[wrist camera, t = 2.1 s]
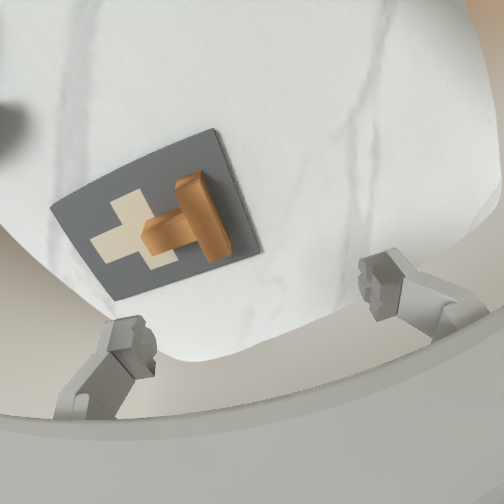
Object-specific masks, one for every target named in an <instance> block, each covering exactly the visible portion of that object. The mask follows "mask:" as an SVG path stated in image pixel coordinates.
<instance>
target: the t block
mask: <svg viewBox="0 0 504 504" xmlns="http://www.w3.org/2000/svg"><path fill="white" fill-rule="evenodd" d="M174 194H175V196H176V198H177V201H178V203H179V205H180V207H179V208H176V209H173V210H171V211H168V212H166V213H163V214H161V215H158V216H156V217H153V218H151V219H148V220H146V222H145V225H144V228H143V231H142V234H141V239H142V241H143V242H144V244H145V246H146V247H147V249H148V251H149V252H150V254H151V256H152V257H153V256H155V255H158V254H161V253H164V252H166V251H169V250H172V249H175V248H177V247H180V246H183V245H186V244H189V243H191V242H194V241H198V243H199V245H200V247H201V249H202V251H203V253H204V255H205V257H206V259H207V261H208V262H209V263H210V262H213V261H216V260H219V259H222V258H225V257H228V256H231V255H232V252H231V244H230V237H229V234H228V232H227V230H226V228H225V225H224V223H223V221H222V218H221V216H220V214H219V211H218V209H217V207H216V204H215V202H214V200H213V197H212V195H211V193H210V190H209V188H208V186H207V183H206V181H205V179H204V176H203V174H202V171H201V170H199V171H196V172H194V173H191V174H189V175H186V176H184V177H181V178H179V179H177V182H176V185H175V189H174Z"/></svg>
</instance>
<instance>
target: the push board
mask: <svg viewBox="0 0 504 504" xmlns="http://www.w3.org/2000/svg"><path fill="white" fill-rule="evenodd" d="M199 170H201V171H202V174H203V176H204V179H205V181H206V183H207V186H208V188H209V190H210V193H211V195H212V197H213V200H214V202H215V204H216V207H217V209H218V211H219V214H220V216H221V218H222V221H223V223H224V225H225V228H226V230H227V232H228V234H229V237H230V244H231V252H232V255H231V256H228V257H225V258H222V259H219V260H216V261H213V262H210V263H209V262H208V261H207V259H206V257H205V255H204V253H203V251H202V249H201V247H200V245H199V243H198V241H194V242H191V243H189V244H186V245H183V246H180V247H177V248H175V249H172V250H169V251H166V252H164V253H161V254H158V255H155V256H153V257H152V256H151V254H150V252H149V251H148V249H147V247H146V246H145V244H144V242H143V241H142V239H141V234H142V231H143V228H144V225H145V222H146V220H148V219H151V218H153V217H156V216H158V215H161V214H163V213H166V212H168V211H171V210H173V209H176V208H179V207H180V205H179V203H178V201H177V198H176V196H175V194H174V189H175V185H176V182H177V179H179V178H181V177H184V176H186V175H189V174H191V173H194V172H196V171H199ZM50 209H51V211H52V213H53V214H54V216H55V217H56V219H57V221H58V222H59V224H60V225H61V227H62V229H63V230H64V232H65V233H66V235H67V236H68V238H69V239H70V241H71V242H72V244H73V245H74V247H75V248H76V250H77V251H78V253H79V254H80V256H81V257H82V258H83V260H84V261H85V263H86V264H87V265H88V267H89V268H90V270H91V271H92V272H93V274H94V275H95V276H96V278H97V279H98V280H99V282H100V283H101V284H102V286H103V287H104V288H105V290H106V291H107V292H108V294H109V295H110V296H111V297H112V299H113V300H114V301H118V300H121V299H124V298H127V297H130V296H133V295H136V294H139V293H142V292H145V291H148V290H151V289H154V288H157V287H160V286H163V285H166V284H169V283H172V282H176V281H179V280H182V279H185V278H188V277H191V276H194V275H197V274H200V273H203V272H206V271H209V270H212V269H215V268H218V267H221V266H224V265H227V264H230V263H233V262H236V261H239V260H242V259H245V258H248V257H251V256H254V255H257V254H260V250H259V247H258V244H257V242H256V239H255V236H254V234H253V231H252V229H251V226H250V223H249V221H248V218H247V215H246V213H245V210H244V207H243V205H242V202H241V200H240V197H239V194H238V192H237V189H236V186H235V184H234V181H233V179H232V176H231V173H230V171H229V168H228V165H227V163H226V160H225V158H224V155H223V152H222V150H221V147H220V145H219V142H218V139H217V137H216V134H215V132H214V129H213V128H212V129H209V130H206V131H204V132H201V133H199V134H196V135H193V136H191V137H188V138H186V139H183V140H181V141H178V142H176V143H174V144H171V145H169V146H166V147H164V148H162V149H159V150H157V151H155V152H153V153H150V154H148V155H146V156H144V157H142V158H139V159H137V160H135V161H133V162H131V163H129V164H127V165H125V166H123V167H121V168H119V169H117V170H115V171H113V172H111V173H109V174H107V175H105V176H103V177H101V178H99V179H97V180H95V181H93V182H91V183H89V184H88V185H86V186H84V187H82V188H80V189H79V190H77V191H75V192H73V193H71V194H70V195H68V196H66V197H64V198H63V199H61V200H59V201H58V202H56V203H54V204H53V205H52V206H51V207H50Z"/></svg>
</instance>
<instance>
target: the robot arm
mask: <svg viewBox="0 0 504 504" xmlns="http://www.w3.org/2000/svg"><path fill="white" fill-rule="evenodd" d="M358 268H359V269H360V271H361V274H360V275H359V277H358V285H359V289H360V293H361V295H362V297H363V299H364V301H366V302H368V303H370V311H371V313H372V314H373V316H374V318H375V320H376V321H377V322H378V321H381V320H384V319H387V318H390V317H393V316H396V315H397V316H398V317H399V318H401V319H402V320H404V321H406V322H407V323H409V324H410V325H412V326H414V327H415V328H417V329H418V330H420V331H422V332H423V333H425V334H427V335H428V336H430V337H431V338H433V340H432V343H431V344H430V345H427V346H425V347H423V348H420V349H418V350H416V351H414V352H411V353H409V354H406V355H404V356H402V357H399V358H397V359H394V360H392V361H389V362H387V363H384V364H381V365H379V366H376V367H373V368H371V369H368V370H365V371H362V372H360V373H357V374H354V375H351V376H348V377H345V378H342V379H339V380H336V381H332V382H329V383H326V384H323V385H319V386H316V387H312V388H309V389H305V390H302V391H298V392H294V393H290V394H286V395H283V396H278V397H275V398H270V399H266V400H261V401H256V402H252V403H247V404H242V405H237V406H232V407H226V408H220V409H214V410H208V411H201V412H194V413H188V414H179V415H171V416H160V417H149V418H136V419H117V418H116V417H115V415H116V413H117V411H118V410H119V408H120V406H121V405H122V403H123V401H124V400H125V398H126V396H127V395H128V393H129V391H130V389H131V388H132V386H133V384H134V383H135V380H137V379H143V378H149V377H154V376H155V365H156V362H155V361H154V359H153V357H154V356H155V354H156V353H157V343H156V339H155V336H154V334H153V332H152V331H151V329H149V328H147V327H145V323H146V321H145V320H144V319H143V317H142V316H140V315H136V316H131V317H126V318H120V319H116V320H111V321H106V322H105V323H104V325H103V328H102V332H101V335H100V339H99V343H98V346H97V350H96V354H92V355H91V357H90V358H89V359H88V360H87V361H86V362H85V364H84V365H83V366H82V367H81V368H80V369H79V371H78V372H77V373H76V374H75V375H74V377H73V378H72V379H71V380H70V381H69V382H68V384H67V385H66V386H65V387H64V388H63V390H62V391H61V392H60V394H59V396H58V400H57V404H56V408H55V413H54V417H53V419H41V418H28V417H19V416H10V415H3V414H0V504H504V306H502V307H500V308H499V309H497V310H495V311H493V312H492V313H490V312H489V310H488V309H487V308H486V307H485V306H484V304H483V303H482V302H481V301H480V299H479V298H478V297H477V296H476V295H475V294H474V292H472V291H469V290H467V289H464V288H462V287H459V286H457V285H454V284H452V283H449V282H447V281H444V280H442V279H439V278H437V277H434V276H432V275H429V274H426V273H424V272H420V273H418V271H417V270H416V269H415V268H414V267H413V265H412V264H411V263H410V262H409V261H408V260H407V259H406V257H405V256H404V255H403V254H402V253H401V252H400V251H399V250H398V249H397V248H393V249H389V250H386V251H384V252H381V253H378V254H374V255H371V256H368V257H364V258H361V259H359V266H358Z"/></svg>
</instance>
